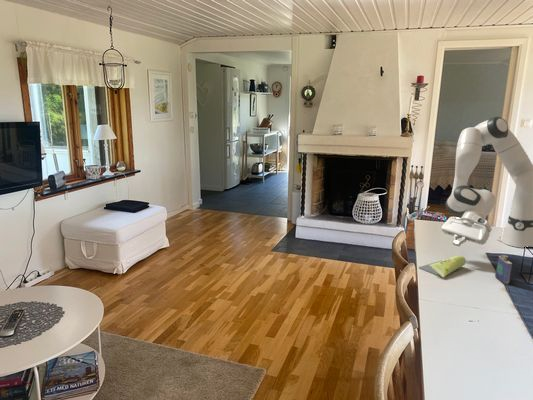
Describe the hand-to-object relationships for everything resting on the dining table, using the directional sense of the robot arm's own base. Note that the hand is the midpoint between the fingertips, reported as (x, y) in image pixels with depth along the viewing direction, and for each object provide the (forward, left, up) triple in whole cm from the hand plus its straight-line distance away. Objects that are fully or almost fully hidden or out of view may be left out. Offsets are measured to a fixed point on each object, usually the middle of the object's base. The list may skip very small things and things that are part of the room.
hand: (455, 244), depth 179 cm
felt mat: (+10, -3, -9) cm, 14 cm away
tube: (+1, +3, -6) cm, 7 cm away
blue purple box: (+5, +20, -9) cm, 23 cm away
